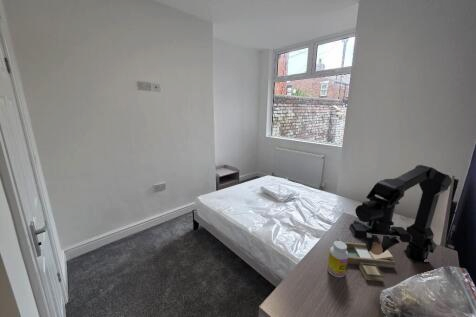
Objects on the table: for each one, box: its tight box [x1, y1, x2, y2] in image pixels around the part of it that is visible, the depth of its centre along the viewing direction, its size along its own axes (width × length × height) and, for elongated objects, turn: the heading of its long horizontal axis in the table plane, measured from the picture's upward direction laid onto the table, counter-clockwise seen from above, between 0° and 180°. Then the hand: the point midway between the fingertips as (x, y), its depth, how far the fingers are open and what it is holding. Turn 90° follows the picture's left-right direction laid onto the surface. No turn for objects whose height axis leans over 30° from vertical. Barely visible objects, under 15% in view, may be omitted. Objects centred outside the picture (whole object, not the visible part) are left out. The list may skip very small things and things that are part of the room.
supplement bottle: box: [326, 240, 349, 279], centre depth 79 cm, size 7×7×13 cm
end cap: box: [352, 218, 378, 241], centre depth 102 cm, size 10×7×7 cm
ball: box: [370, 242, 383, 255], centre depth 76 cm, size 4×4×4 cm
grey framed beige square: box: [358, 263, 384, 282], centre depth 79 cm, size 6×6×2 cm
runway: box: [336, 237, 397, 269], centre depth 87 cm, size 19×10×5 cm, turn 81°
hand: (375, 251), depth 76 cm, fingers closed on ball, 4 cm apart
